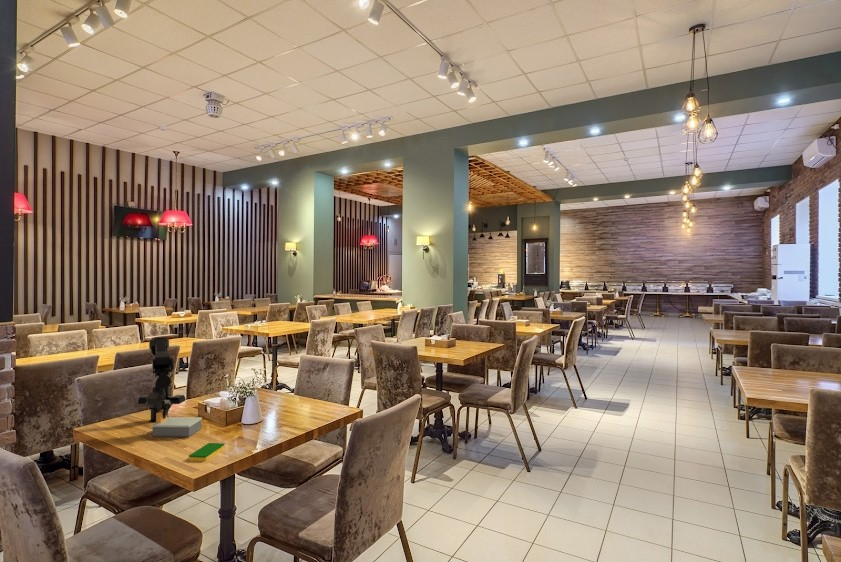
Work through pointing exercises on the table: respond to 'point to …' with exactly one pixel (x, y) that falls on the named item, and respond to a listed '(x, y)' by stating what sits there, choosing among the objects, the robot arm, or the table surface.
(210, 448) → the dish sponge
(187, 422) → the lid
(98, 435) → the table surface
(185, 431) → the tub
